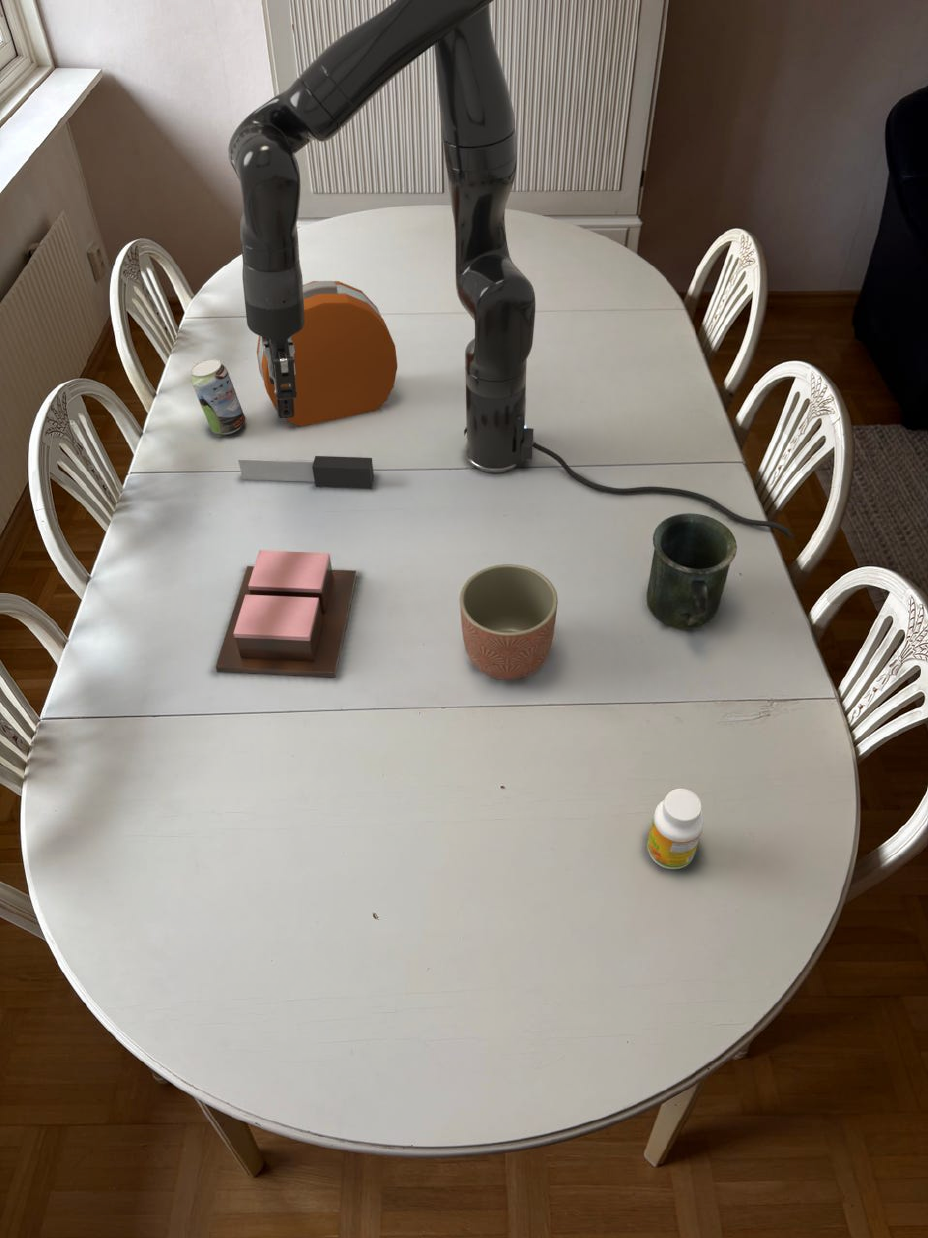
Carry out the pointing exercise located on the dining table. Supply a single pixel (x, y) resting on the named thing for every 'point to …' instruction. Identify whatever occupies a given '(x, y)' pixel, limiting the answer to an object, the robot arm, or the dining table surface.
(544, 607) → the planter
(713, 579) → the mug
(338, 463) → the knife
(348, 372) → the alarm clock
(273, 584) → the cake
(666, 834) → the supplement bottle
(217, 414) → the beverage can
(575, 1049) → the dining table surface
